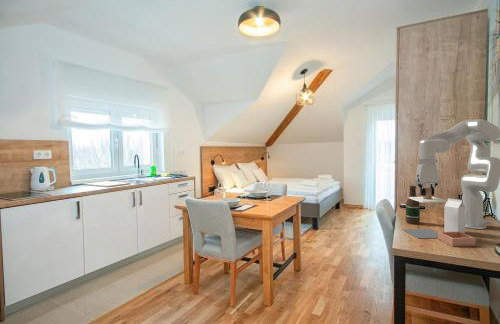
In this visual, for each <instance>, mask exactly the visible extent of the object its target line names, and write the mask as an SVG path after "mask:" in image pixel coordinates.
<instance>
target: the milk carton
mask: <svg viewBox="0 0 500 324" xmlns="http://www.w3.org/2000/svg"><path fill="white" fill-rule="evenodd" d="M443 209H444V210H443V211H444V214H443V215H444V231H443V232H462V233H464V234H466V227H465V205H464V204H463V199H457V198H456V199H455V198H449V197H448V198H447V202H445V204H444V207H443Z"/></svg>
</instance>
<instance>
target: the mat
mask: <svg viewBox="0 0 500 324" xmlns="http://www.w3.org/2000/svg"><path fill="white" fill-rule="evenodd" d="M402 231H403V232H405V233H407V234H409V235H411V236H412V237H414V238H416V239H418V240H419V239H422V240H423V239H426V240H427V239H429V240H430V239H431V240H432V239H438V232H439V231H435V230H433V229H431V228H417V229H416V228H415V229H414V228H413V229H411V228H406V229H403V228H402Z"/></svg>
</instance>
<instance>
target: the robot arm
mask: <svg viewBox="0 0 500 324" xmlns="http://www.w3.org/2000/svg"><path fill="white" fill-rule="evenodd" d="M499 138H500V128H499V127H498V126H497V125H495V124H494V123H492V122H490V121H488V120H486V119H483V118H482V119H481V118H476V119H466V120H462V121H460V122H458V123H457V124H455V125H453V126H452V127H450V128H449V129H446V130H443V131H441V132H438V133H435V134H431V135H429V136H428V137H426V138H424V139H422V140H420V141H419V144H418V145H419V146H418V148H419V149H418V151H419V153H418V154H419V155H418V156H419V159H418V160H419V162H418V164H417V166H416V172H415V180H414V182H413V184H415V186H418V188H419V189H420V196H421V197H423V196H425V189H424V187H426V186H425V185H426V184H429V188H432V197H435V189H436V187H437V186H439V184H441V183H442V182H441V180H440V179H439V170H438V165H437V164H436V163H438V159H437V158H436V154H437V153H438V154H441V153H442V154H443V153H446V152H448V151H449V150H450V148H451V144H456V143H458V142H460V141H461V140H463V139H466V141H467V142H468V144H469V147H470V153H469V156H468V161H467V170H468V171H469V172H471V173H468V174H464V175H462V177H461V178H460V186H461V191H462V203H463V204H464V205H465V229H473V230H485V229H486V228H487V224H488V225H489V224H492V220H487V219H483V218H484V198H483V195H482V193H481V192H486V193H487V192H488V193H493V192H495V191H496V190H497V189H498V188H499V184H500V158H499V157H495V156H489V153H490V152H489V151H490V149H489V147H488V145H487V144H486V143H485V142H488V141H489V142H490V141H491V142H492V141H496V140H498V139H499ZM475 173H477V174H475ZM479 173H481V174H479Z"/></svg>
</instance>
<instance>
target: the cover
mask: <svg viewBox="0 0 500 324" xmlns="http://www.w3.org/2000/svg"><path fill="white" fill-rule="evenodd" d="M424 189H425V196H416V197H409V196H408V199H412V200H416V201H419V203H424V204H427V203H446V202H447V201H448V199H447V200H446V199H443V198H441V197H439V198H438V197H435V196H432V188H430V187H426V186H425V187H424Z"/></svg>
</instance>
